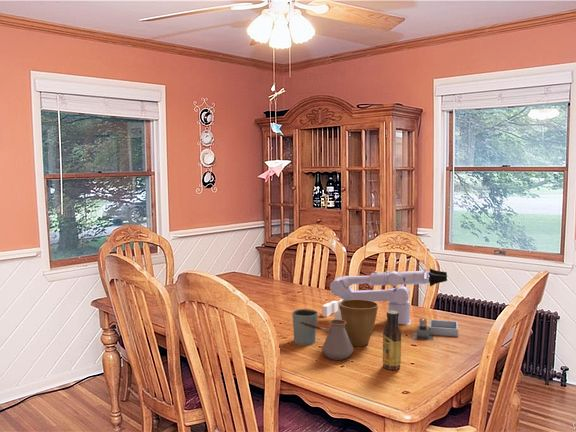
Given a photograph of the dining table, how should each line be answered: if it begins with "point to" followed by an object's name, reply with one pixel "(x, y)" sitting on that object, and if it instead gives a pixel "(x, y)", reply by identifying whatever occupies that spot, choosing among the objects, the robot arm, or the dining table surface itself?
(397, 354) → the sauce bottle
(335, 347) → the coffee pot
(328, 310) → the napkin holder
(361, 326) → the plant pot
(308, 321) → the grey cup
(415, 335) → the stud plate
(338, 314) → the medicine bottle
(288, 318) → the dining table surface
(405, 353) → the dining table surface
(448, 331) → the bin
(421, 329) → the knob
